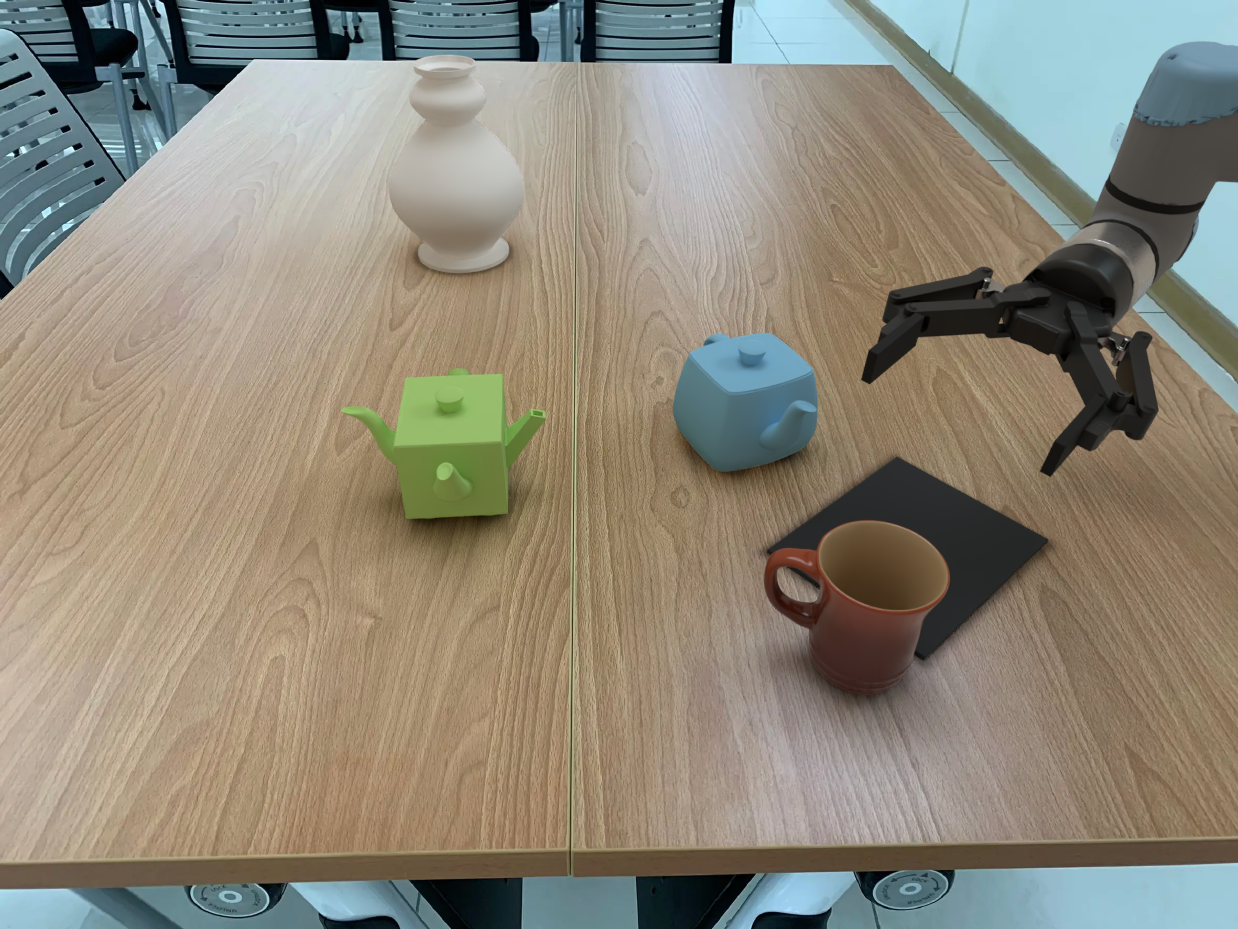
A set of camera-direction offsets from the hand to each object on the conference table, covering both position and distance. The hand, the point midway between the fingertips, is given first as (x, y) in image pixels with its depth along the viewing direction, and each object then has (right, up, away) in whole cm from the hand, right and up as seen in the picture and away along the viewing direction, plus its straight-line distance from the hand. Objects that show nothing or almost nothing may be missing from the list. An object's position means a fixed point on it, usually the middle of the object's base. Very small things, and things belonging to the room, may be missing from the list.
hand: (955, 411), depth 60 cm
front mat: (+3, -11, +19) cm, 22 cm away
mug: (-6, -19, +10) cm, 22 cm away
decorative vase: (-45, +26, +64) cm, 82 cm away
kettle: (-38, -6, +24) cm, 46 cm away
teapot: (-10, -2, +30) cm, 32 cm away
